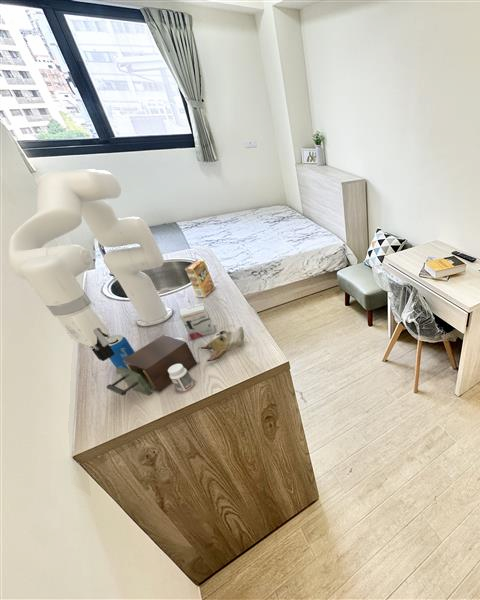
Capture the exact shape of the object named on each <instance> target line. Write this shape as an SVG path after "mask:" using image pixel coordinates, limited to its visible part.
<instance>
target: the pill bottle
mask: <svg viewBox="0 0 480 600" xmlns="http://www.w3.org/2000/svg"><path fill="white" fill-rule="evenodd" d="M168 373H169V374H170V378H171V380H172V382H173V383H172V384H173V385H174V387H175V389H176V390H177V391H178V392H186V391H189V390H190V389H191V388H192V387H193V385H194V381H193V379H192V377H191V375H190V373H189V370H188V371H187V370H186V368H184V367H183V365H182V364H174V365H172V366H171V367H170V368H169V369H168Z"/></svg>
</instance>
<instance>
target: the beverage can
mask: <svg viewBox="0 0 480 600" xmlns="http://www.w3.org/2000/svg"><path fill="white" fill-rule="evenodd" d="M106 339H107V341H108V342H109V343H110V344H109V346H110V347H111V349H112V350H113V352H114V353H115V354H114V355H113V356H111V357H110V358H108V359H109V360H110V362H111V363H112V364H113V366H114V367H115V369H116V368H117V367H119V366H121V367H124V368H126V369H128V367H127V366H126V364H125V363H124V361H123V359H125V358H127V357H128V356H130V355H131V354H133V353H135V352H136V351H135V350H134V349H133V347H132V345H131V344H130V342H129V341H128V339H127V337H126V336H123V335H122V334H114V335H112V336H111V335H110V337H109V338H107V337H106Z"/></svg>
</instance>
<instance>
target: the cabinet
mask: <svg viewBox="0 0 480 600" xmlns="http://www.w3.org/2000/svg"><path fill="white" fill-rule="evenodd" d="M188 344H189V343H188V342H187V341H184V340H182V339H179V338H176V337H174V336H173V337H172V336H170V335H167V334H162V335H160V336H159V337H157V338H155V339H154V340H152V341H151V342H149V343H147V344H146V345H144V346H142V347H141V348H139V349H138V350H136V351H134V352H135V353H133V354H131V355H130V356H128V357H127V358H125V359H123V361H124V363H125V364H127V363H128V364H130V365H133V366H135V367H138V368H140V369H143V370H145V371H146V373H147V374H148V376H149V377H150V379H151V380H152V382H153V383H154V385H155V387H156V388H152V387H150V386H149V388H150V389H151V390H154V391H157V392H159V393H161V392H163V390H164V389H166V388H168V387H169V386H171V384H174V383H173V382H172V380H171V378H170V374H169V373H168V369H169V368H170V367H171V366H172V365H174V364H182V365H183V367H184V368H186V370H187V371H188V372H189V371H190V370H191V369H192V368H194V367H195V366H197V364H198V362H197V361H196V358H195V357H194V355H193V354H194V353H192V350H191V348H190V347H189V345H188ZM126 366H127V365H126ZM127 367H128V366H127ZM128 369H129V367H128ZM129 370H130V369H129Z"/></svg>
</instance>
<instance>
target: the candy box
mask: <svg viewBox="0 0 480 600" xmlns="http://www.w3.org/2000/svg"><path fill="white" fill-rule="evenodd" d="M184 270H185V272H186V274H187V277H188V279H189V282H190V283H191V286H192V288H193V290H194V293H195V295H196V297H197V298H206V297H207V296H208V295H210V293H211V292H212V291H214V290H215V289H216V286H215V284H214V281H213V279H212V276H211V274H210V271H209V269H208V266H207V264H206V261H205V259H195V260H194V261H193V262H192V263H191V264H189V265H187V266H186V267H185V268H184Z"/></svg>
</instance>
